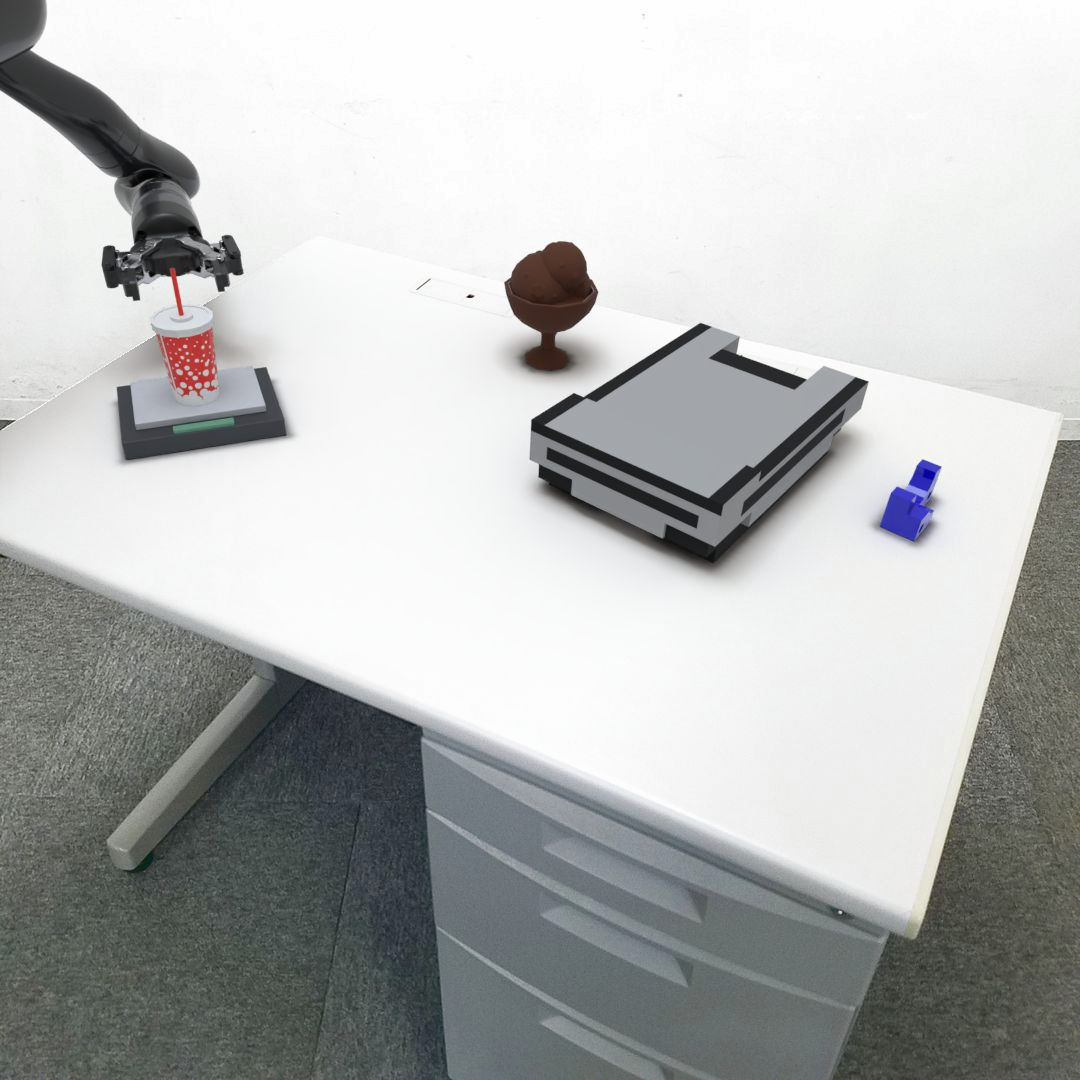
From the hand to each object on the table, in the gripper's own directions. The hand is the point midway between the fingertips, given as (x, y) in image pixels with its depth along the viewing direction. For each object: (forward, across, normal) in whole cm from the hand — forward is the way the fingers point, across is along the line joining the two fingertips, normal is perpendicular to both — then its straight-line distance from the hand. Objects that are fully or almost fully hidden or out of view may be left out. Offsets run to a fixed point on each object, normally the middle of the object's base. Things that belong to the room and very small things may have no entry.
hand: (178, 287), depth 100 cm
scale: (+6, 0, +12) cm, 14 cm away
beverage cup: (+6, 0, +10) cm, 11 cm away
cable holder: (+44, +64, +13) cm, 79 cm away
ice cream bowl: (+3, +41, +13) cm, 43 cm away
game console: (+29, +48, +13) cm, 58 cm away
